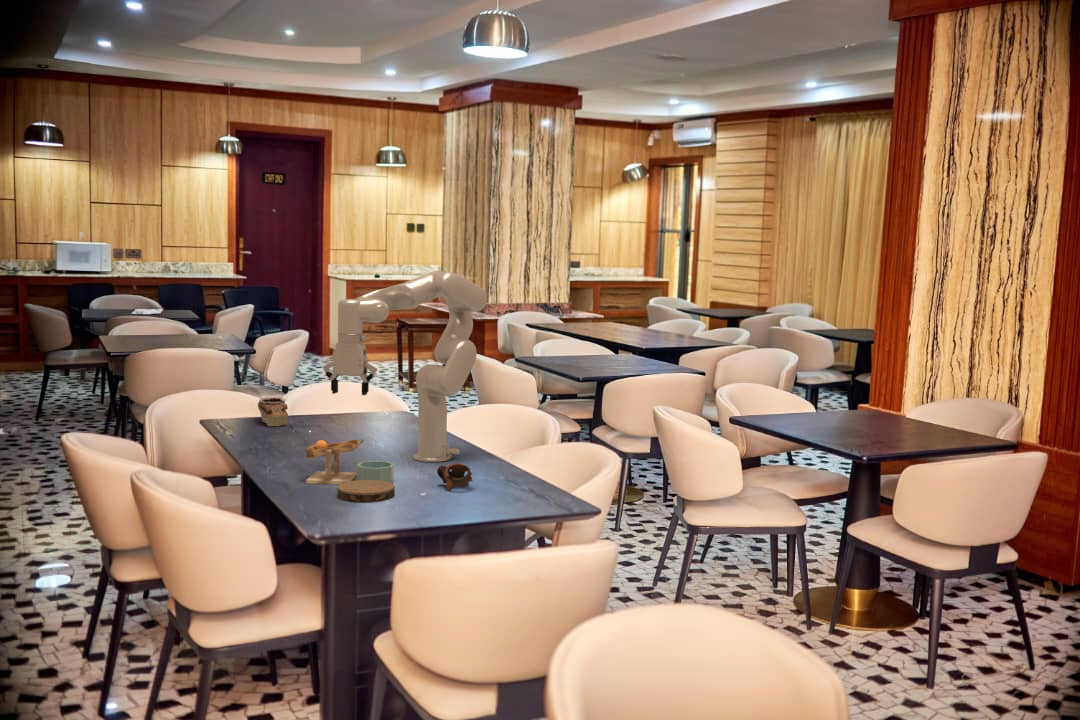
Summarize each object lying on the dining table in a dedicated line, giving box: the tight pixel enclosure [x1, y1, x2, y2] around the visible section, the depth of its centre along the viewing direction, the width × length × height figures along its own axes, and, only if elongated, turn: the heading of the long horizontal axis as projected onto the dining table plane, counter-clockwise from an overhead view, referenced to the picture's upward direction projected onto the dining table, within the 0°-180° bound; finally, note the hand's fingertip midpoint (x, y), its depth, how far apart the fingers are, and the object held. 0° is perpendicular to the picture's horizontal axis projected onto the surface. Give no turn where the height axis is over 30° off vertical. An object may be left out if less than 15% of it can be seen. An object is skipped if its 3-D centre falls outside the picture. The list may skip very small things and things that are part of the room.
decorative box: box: [257, 397, 289, 427], centre depth 394 cm, size 13×20×10 cm, turn 20°
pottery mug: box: [436, 462, 474, 492], centre depth 295 cm, size 12×10×8 cm
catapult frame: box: [305, 450, 357, 485], centre depth 301 cm, size 13×12×10 cm
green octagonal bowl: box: [356, 460, 395, 484], centre depth 301 cm, size 10×10×5 cm
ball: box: [314, 439, 328, 450], centre depth 301 cm, size 4×4×4 cm
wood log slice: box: [337, 479, 396, 504], centre depth 283 cm, size 16×16×3 cm
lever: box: [305, 438, 364, 460], centre depth 304 cm, size 14×16×3 cm
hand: (349, 393), depth 312 cm, fingers open, 9 cm apart
